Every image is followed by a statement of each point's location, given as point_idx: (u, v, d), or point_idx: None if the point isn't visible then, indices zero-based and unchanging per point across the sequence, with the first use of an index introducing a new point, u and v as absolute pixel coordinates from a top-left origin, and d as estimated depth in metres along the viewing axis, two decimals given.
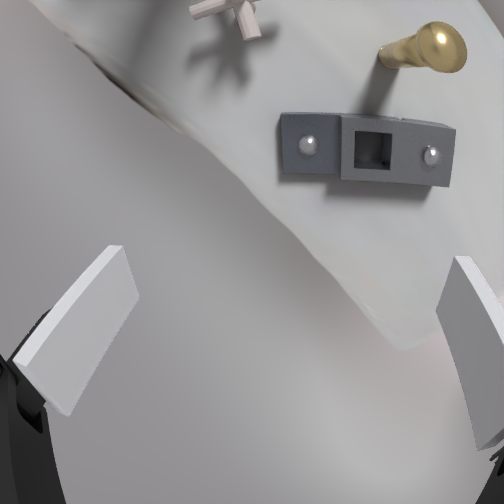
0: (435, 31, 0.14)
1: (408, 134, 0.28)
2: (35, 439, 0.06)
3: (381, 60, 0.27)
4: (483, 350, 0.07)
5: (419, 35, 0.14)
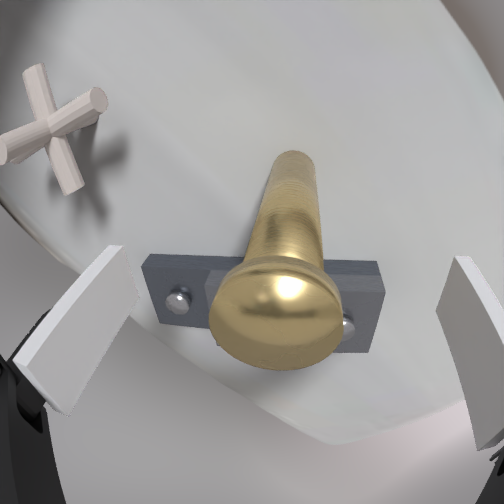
0: (249, 303, 0.08)
1: None
2: (35, 439, 0.06)
3: None
4: (483, 350, 0.07)
5: None
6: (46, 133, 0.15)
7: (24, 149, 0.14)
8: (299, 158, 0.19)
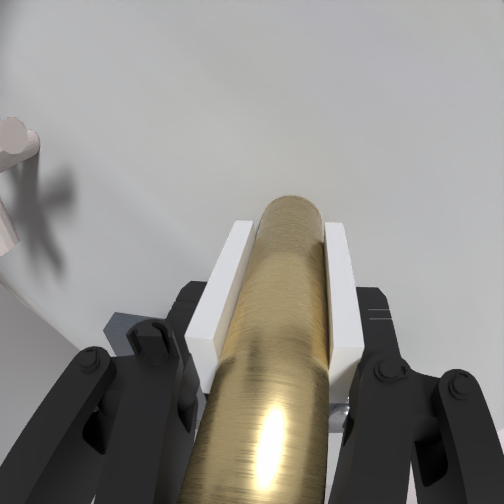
0: None
1: None
2: (183, 442, 0.06)
3: None
4: None
5: None
6: None
7: None
8: (300, 213, 0.13)
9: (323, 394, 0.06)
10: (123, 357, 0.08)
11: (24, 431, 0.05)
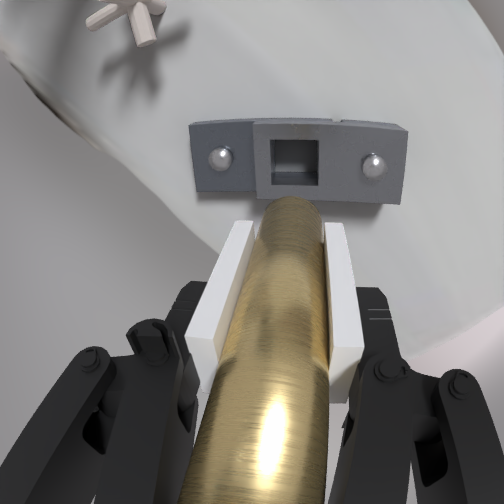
0: None
1: (340, 139, 0.24)
2: (183, 442, 0.06)
3: None
4: None
5: None
6: None
7: None
8: (300, 213, 0.13)
9: (323, 394, 0.06)
10: (123, 357, 0.08)
11: (24, 431, 0.05)
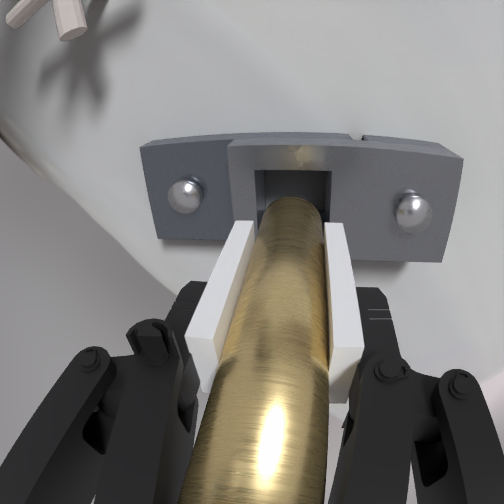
0: None
1: (365, 170, 0.15)
2: (183, 442, 0.06)
3: None
4: None
5: None
6: None
7: None
8: (300, 214, 0.13)
9: (323, 394, 0.06)
10: (123, 357, 0.08)
11: (24, 431, 0.05)
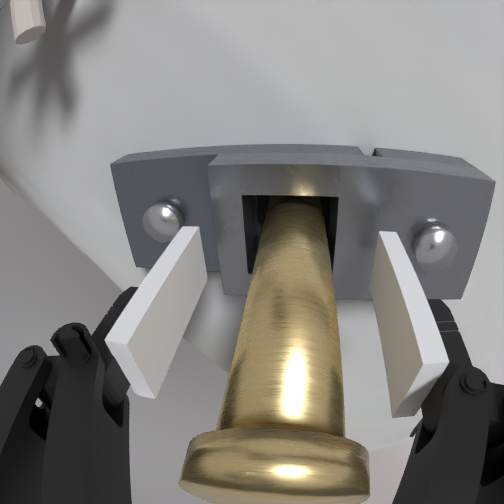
0: (235, 489, 0.04)
1: (380, 196, 0.12)
2: (114, 435, 0.06)
3: None
4: (394, 315, 0.09)
5: (180, 476, 0.05)
6: None
7: None
8: None
9: (334, 320, 0.08)
10: (59, 356, 0.07)
11: None
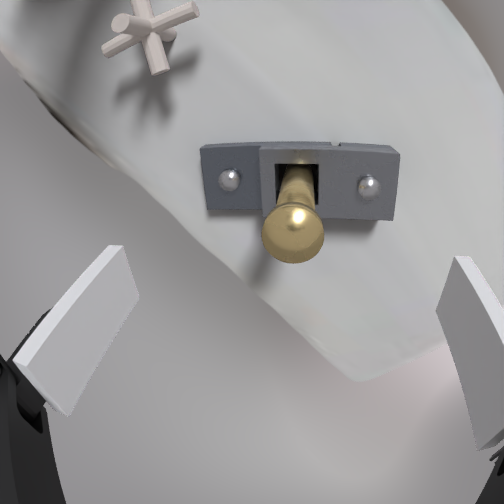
0: (281, 221, 0.19)
1: (338, 163, 0.27)
2: (35, 439, 0.06)
3: None
4: (483, 350, 0.07)
5: None
6: (149, 26, 0.20)
7: (136, 28, 0.19)
8: (302, 164, 0.30)
9: (312, 198, 0.23)
10: None
11: None
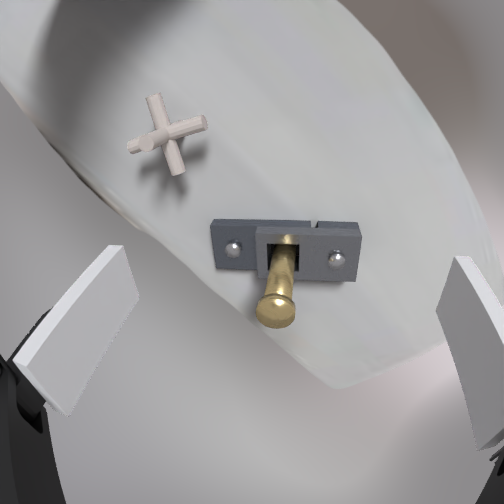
0: (268, 306, 0.30)
1: (314, 243, 0.38)
2: (35, 439, 0.06)
3: None
4: (483, 350, 0.07)
5: None
6: (167, 137, 0.31)
7: (159, 145, 0.30)
8: None
9: (290, 280, 0.34)
10: None
11: None
